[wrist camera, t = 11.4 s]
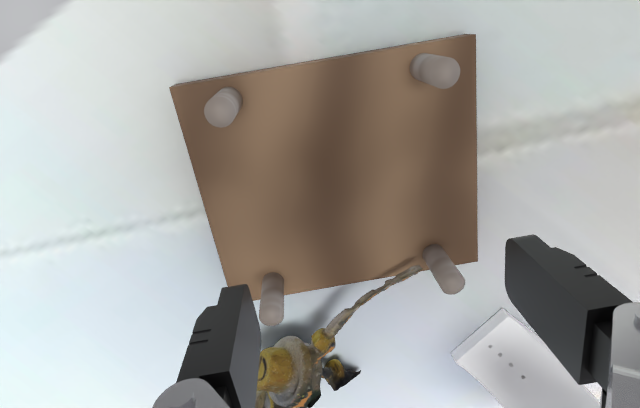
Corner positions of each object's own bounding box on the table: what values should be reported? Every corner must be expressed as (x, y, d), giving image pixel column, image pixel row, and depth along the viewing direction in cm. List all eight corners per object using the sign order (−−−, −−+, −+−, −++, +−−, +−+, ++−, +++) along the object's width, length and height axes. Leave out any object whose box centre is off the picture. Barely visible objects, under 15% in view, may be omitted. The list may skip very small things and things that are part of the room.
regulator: (370, 220, 22) (204, 386, 26) (405, 275, 19) (212, 452, 23) (441, 264, 26) (291, 399, 31) (479, 313, 23) (307, 455, 28)
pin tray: (465, 34, 20) (508, 35, 16) (469, 250, 25) (502, 292, 21) (175, 84, 20) (148, 97, 16) (235, 291, 24) (225, 340, 21)
